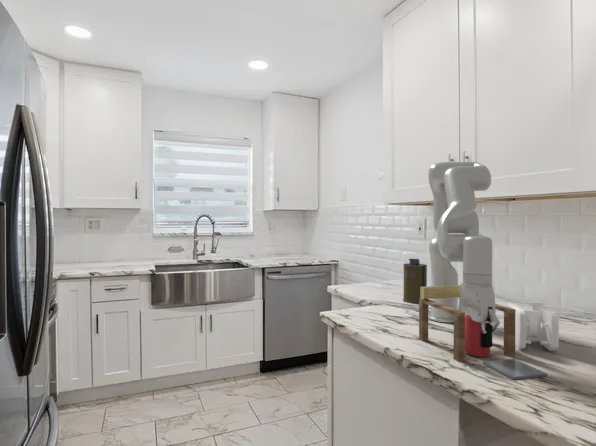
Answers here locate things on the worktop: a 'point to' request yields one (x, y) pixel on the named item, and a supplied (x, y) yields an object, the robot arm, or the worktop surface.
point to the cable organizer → (536, 327)
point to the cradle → (460, 327)
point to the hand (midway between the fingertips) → (477, 342)
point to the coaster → (514, 369)
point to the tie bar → (440, 292)
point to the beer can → (474, 338)
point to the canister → (414, 280)
